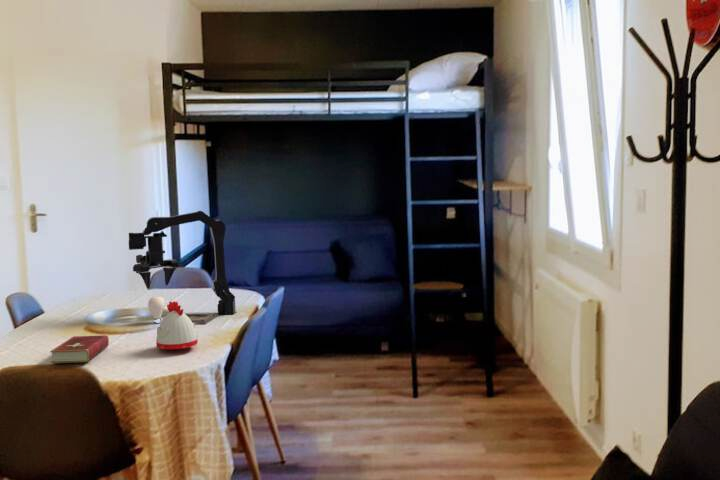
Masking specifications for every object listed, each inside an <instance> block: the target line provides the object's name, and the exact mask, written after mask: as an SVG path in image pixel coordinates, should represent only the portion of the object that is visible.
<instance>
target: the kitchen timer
mask: <svg viewBox="0 0 720 480" xmlns="http://www.w3.org/2000/svg"><path fill="white" fill-rule="evenodd" d="M166 307H167V310H168V313H167V314H166V315H165V316H164V318H163V319H161V322H160V323H159V326H158V327H157V328H156V338H155V339H156V342H155V344H156V348H158V349H163V350H182V349H186V348H190V347H194V346H197V345H198V334H197V330H196V324H195V323H192V321H191V320H190V319H189V317H188V316H187V315H186V314H187V313H184V308H183V309H182V306H181V304H180V305H179V303H178V301H174V300H173V301H169V303H168V304H166Z"/></svg>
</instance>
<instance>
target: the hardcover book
mask: <svg viewBox="0 0 720 480" xmlns="http://www.w3.org/2000/svg"><path fill="white" fill-rule="evenodd" d="M109 343H110V341H109V336H108V335H107V334H106V335H105V334H104V335H103V334H100V335H99V334H97V335H76V336H75V335H74V336H71V338H69V339H67V340H65V341H64V342H62V343H61V344H60V345H58V346H56V347H55V348H53V349H52V350H50V353H51V355H52V358H51V359H52V361H51V362H50V363H51V364H70V363H71V364H72V363H88V362H90V361H92V359H94V358H95V357H96V356H97V355H99V354H100V353H101V352H102V351H104V350H105V349H106V348H108V347H109V346H110V345H109Z"/></svg>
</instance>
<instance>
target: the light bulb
mask: <svg viewBox="0 0 720 480" xmlns="http://www.w3.org/2000/svg"><path fill="white" fill-rule="evenodd" d="M165 306H166V303H165V299H164V298H163V297H161V296H157V295H155V296H152V297H151V298H149V300H148V302H147V307H148V309H149V311H150V312H151V314H152V318H153V321H154V320H157V319H161V320H162V314H163V312H164V310H165Z"/></svg>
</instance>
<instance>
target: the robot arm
mask: <svg viewBox="0 0 720 480" xmlns="http://www.w3.org/2000/svg"><path fill="white" fill-rule="evenodd" d="M198 221H199V222H202V223H203V224H204V225H206V226H207V227H209V230H210V234H211V237H212V241H213V249H214V251H213V252H214V266H215V278H214V279H211V283H212V288H211V290H212V291H213V292H214V294H215V296H216V297H218V299H219V300H218V304H217V316H233V315H235V314H237V313H238V311H236V310H237V309H236V308H237V307H236V296H235V295H234V293H232V291H230V286H229V282H228V279H227V277H226V265H225V264H226V263H225V249H224V247H225V246H224V243H225V242H224V241H225V237H226V229H227V228H226V224H225V223H224V221H222V220H220V219H214V218H213V217H211V216H209V215H208V214H207V213H205V211H202V210H197V211H193V212H189V213H183V214H178V215H173V216H152V217H150V218H148V219H147V221H146V227H145V228H144V229H143V230H142V232H129V233H128V251H129V250H130V251H134V250H135V251H137V250H144V248H145V247H147V250H146V251H145V255H143V254H137V255H136V256H135V261H136V263H135V264H134V265H132V271H133V272H135V273H136V274H138V275H140V277H141V278H142V280H143V282H144V285H145V287H146V289H150V287H151V274H152V272H151V271H150V270H151V269H157V268H159V269H160V268H162V270H163V273H164V283H165V286H168V285H169V283H170V281H171V279H172V276H173V274H174V272H175V271H176V270H177V268H178V267H180V262H179V260H178V259H171V258H169V259H164V254H166V250H164V246H163V238H166V237H168V235H167V234H166V233H165V232H164V230H165V229H168V228H170V227H172V226H177V225H178V226H179V225H185V224H188V223H189V224H190V223H193V222H198ZM151 234H152V235H151Z"/></svg>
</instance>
